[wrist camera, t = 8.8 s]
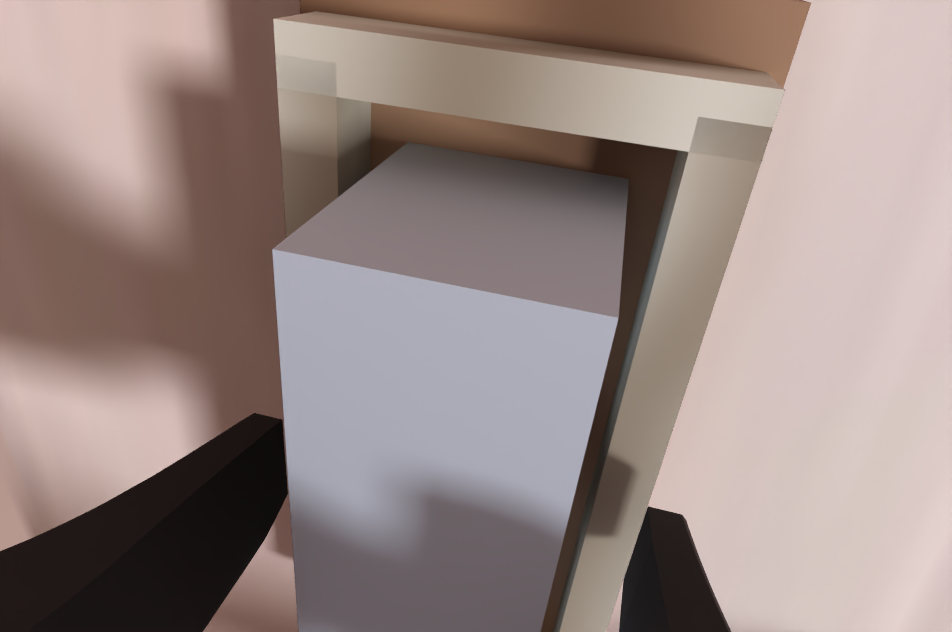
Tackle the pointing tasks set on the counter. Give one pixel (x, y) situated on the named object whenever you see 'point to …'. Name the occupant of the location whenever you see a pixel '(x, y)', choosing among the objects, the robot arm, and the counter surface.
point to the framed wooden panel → (573, 147)
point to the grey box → (443, 386)
